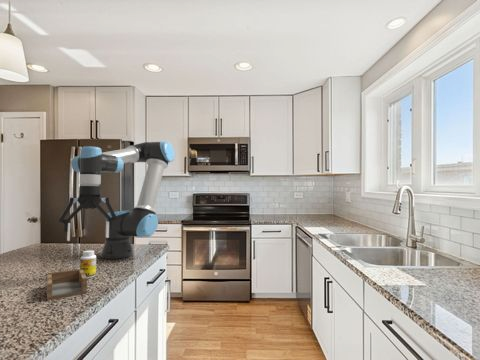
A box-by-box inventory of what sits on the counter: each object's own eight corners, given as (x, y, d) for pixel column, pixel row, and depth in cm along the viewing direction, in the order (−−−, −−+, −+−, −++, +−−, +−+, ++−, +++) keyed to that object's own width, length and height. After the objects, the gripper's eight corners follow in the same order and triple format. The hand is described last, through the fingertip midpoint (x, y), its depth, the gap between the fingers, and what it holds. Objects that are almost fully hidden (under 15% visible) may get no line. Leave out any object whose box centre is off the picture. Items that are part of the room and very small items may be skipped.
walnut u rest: (86, 293, 94) (87, 278, 94) (47, 300, 87) (47, 285, 88) (81, 281, 105) (82, 268, 105) (46, 287, 99) (47, 273, 99)
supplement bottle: (76, 278, 109) (77, 251, 109) (88, 274, 114) (88, 248, 115) (87, 279, 107) (88, 252, 108) (99, 275, 113) (99, 249, 113)
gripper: (121, 186, 122) (119, 234, 121) (52, 184, 108) (50, 240, 107) (125, 185, 116) (123, 237, 115) (52, 184, 101) (50, 243, 101)
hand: (88, 238), depth 111 cm, fingers open, 13 cm apart
